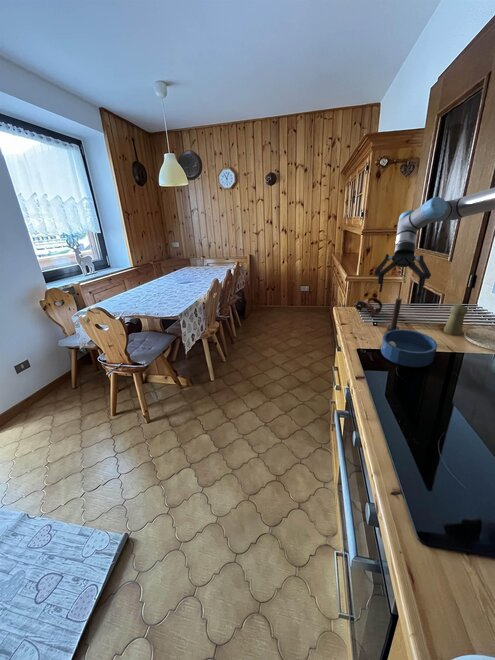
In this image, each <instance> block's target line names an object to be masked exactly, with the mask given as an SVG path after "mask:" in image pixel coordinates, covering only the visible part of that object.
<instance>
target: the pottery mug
mask: <svg viewBox="0 0 495 660" xmlns="http://www.w3.org/2000/svg"><path fill="white" fill-rule="evenodd" d="M371 301H373V302H374V303H376V304H378V307H374V306H373V305H372V304H371ZM354 308H355V309H356V310H357V311H358V312H359V313H360V312H362V311H363V309H365V310H369V311H370V314H369V316H370V317H375V316H376V315H378V314H380V313H381V312H382V308H383V303H382V302H381V300H379V298H376V297H369V298H366V299H364V300H362V301H361V300H357V301H356V302H355V303H354ZM374 308H375V309H374Z"/></svg>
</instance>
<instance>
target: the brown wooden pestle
mask: <svg viewBox="0 0 495 660" xmlns="http://www.w3.org/2000/svg"><path fill="white" fill-rule="evenodd" d="M402 301H403V298H400V297H397V298H395V301H394V306H393V311H392V312H393V313H392V316H391V317H392V318H391V323H390V324H388V325H387V326H386V332H388V331H392V330H400V326H399V325H398V321H399V317H400V316H399V315H400V311H401V306H402ZM386 332H385V333H386Z"/></svg>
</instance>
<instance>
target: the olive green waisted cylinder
mask: <svg viewBox="0 0 495 660" xmlns="http://www.w3.org/2000/svg"><path fill="white" fill-rule="evenodd" d="M467 313H468V308H467V306H465V305H462V304H454V305H452V306H451V308H450V315H449V317H448V319H447V321H446V323H445V326H444V327H443V332H444V333H446V334H448V335H452V336H460V335H462V333H463V327H464V319H465V316H466V315H467Z"/></svg>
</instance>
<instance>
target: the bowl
mask: <svg viewBox="0 0 495 660" xmlns="http://www.w3.org/2000/svg"><path fill="white" fill-rule="evenodd" d="M381 339H382V340H381V344H380V353H381V355H382V356H383V357H384V358H385V359H386V360H388V361H390V362H392V363H394V364H395V365H400V366H404V367H409V368H424V367H428V366H430V365H431V364H433V362H434V360H435V356H436V353H437V349H438V345H439V344H438V342H437V341H436V340H435V339H434V338H433V337H431V336H429V335H427V334H426V333H422V332H419V331H415V330H410V329H399V330H392V331H388V332H384V334H383V335H382V338H381ZM390 341H393V342H395V344H396V347H394V346H393V345H391V344H389V343H388V342H390Z"/></svg>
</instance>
